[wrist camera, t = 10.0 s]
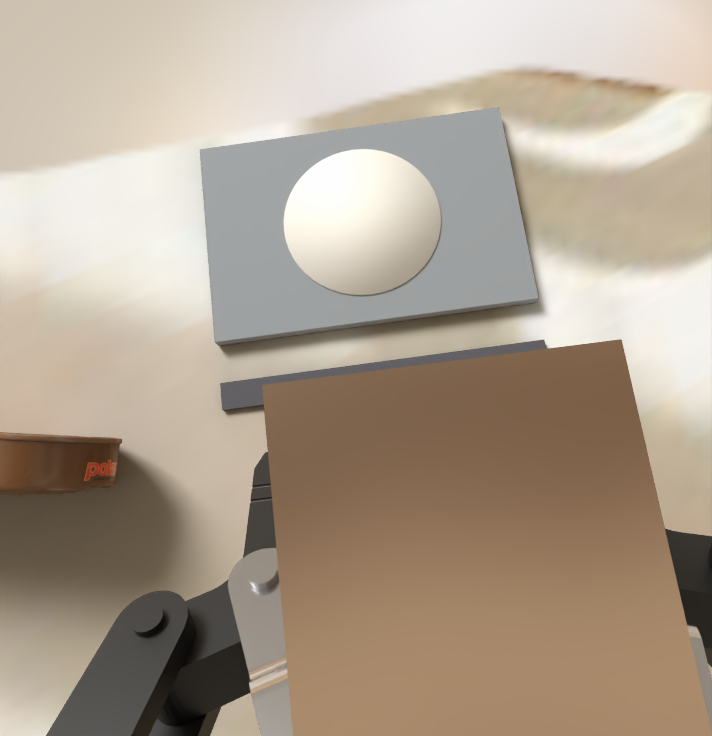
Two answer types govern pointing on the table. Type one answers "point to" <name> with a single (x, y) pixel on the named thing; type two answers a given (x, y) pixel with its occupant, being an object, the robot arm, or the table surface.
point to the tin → (56, 463)
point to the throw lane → (363, 235)
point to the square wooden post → (477, 553)
